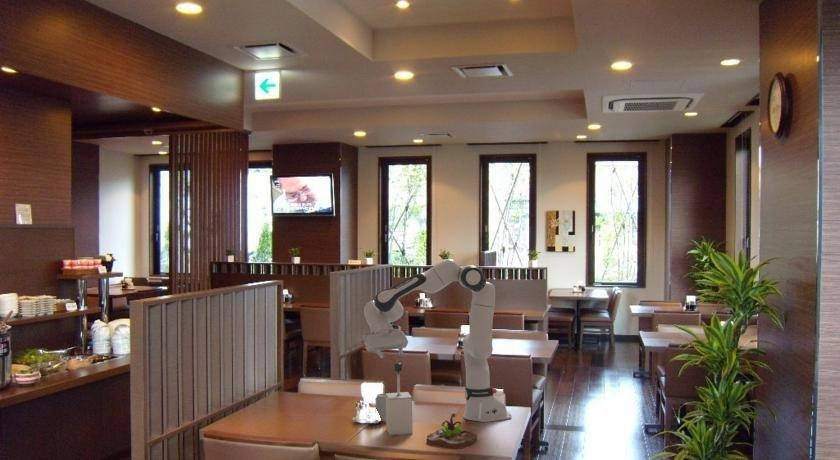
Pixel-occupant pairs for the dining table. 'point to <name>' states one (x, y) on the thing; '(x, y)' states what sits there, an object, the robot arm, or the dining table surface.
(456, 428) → the plant
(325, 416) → the dining table surface
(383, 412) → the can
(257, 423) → the dining table surface
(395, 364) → the plunger
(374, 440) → the dining table surface
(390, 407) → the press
